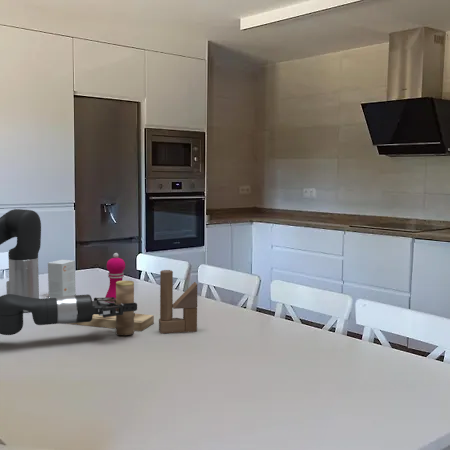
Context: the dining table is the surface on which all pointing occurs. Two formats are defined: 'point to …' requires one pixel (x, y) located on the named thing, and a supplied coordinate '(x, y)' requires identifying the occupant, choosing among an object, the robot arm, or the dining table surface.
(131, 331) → the wooden cylinder yellow top
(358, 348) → the dining table surface
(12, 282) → the robot arm
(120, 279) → the pepper mill
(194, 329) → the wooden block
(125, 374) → the dining table surface
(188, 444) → the dining table surface
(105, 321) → the board
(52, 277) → the small box
